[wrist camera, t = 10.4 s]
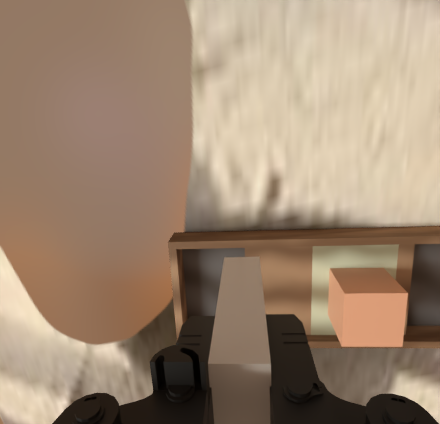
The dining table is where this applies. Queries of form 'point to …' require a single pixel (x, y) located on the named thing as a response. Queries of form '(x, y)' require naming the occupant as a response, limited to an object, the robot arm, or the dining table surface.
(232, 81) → the dining table surface
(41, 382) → the dining table surface
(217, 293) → the trap box
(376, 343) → the block
